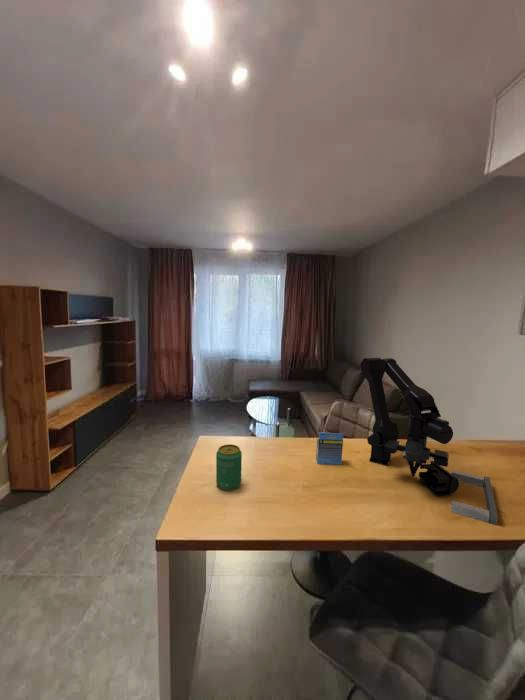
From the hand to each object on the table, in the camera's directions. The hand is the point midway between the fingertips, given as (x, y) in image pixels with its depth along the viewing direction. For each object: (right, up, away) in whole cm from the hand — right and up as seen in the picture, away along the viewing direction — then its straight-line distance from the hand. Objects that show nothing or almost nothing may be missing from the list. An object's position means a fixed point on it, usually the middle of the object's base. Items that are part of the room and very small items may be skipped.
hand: (413, 476), depth 109 cm
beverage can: (-61, -2, -3) cm, 61 cm away
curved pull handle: (+14, -4, -7) cm, 16 cm away
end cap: (+7, -3, -2) cm, 8 cm away
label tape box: (-25, 0, +13) cm, 28 cm away
